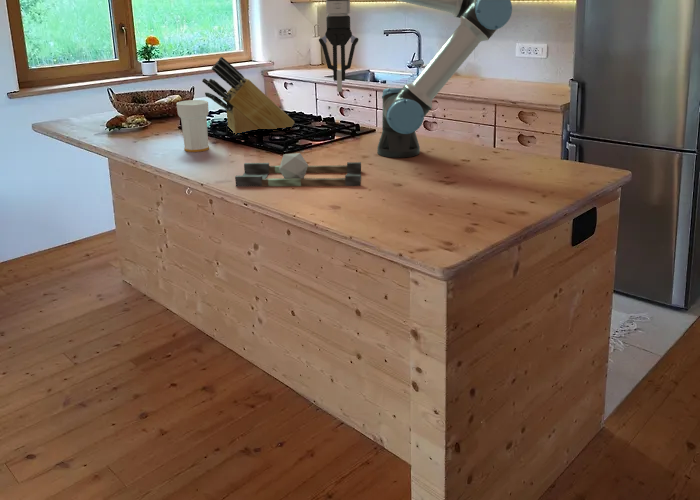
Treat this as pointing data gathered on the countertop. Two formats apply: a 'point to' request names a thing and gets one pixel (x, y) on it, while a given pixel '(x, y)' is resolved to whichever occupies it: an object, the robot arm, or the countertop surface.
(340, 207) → the countertop surface
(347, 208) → the countertop surface
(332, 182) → the trap channel
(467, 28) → the robot arm
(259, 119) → the knife block
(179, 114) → the cup
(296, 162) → the die
